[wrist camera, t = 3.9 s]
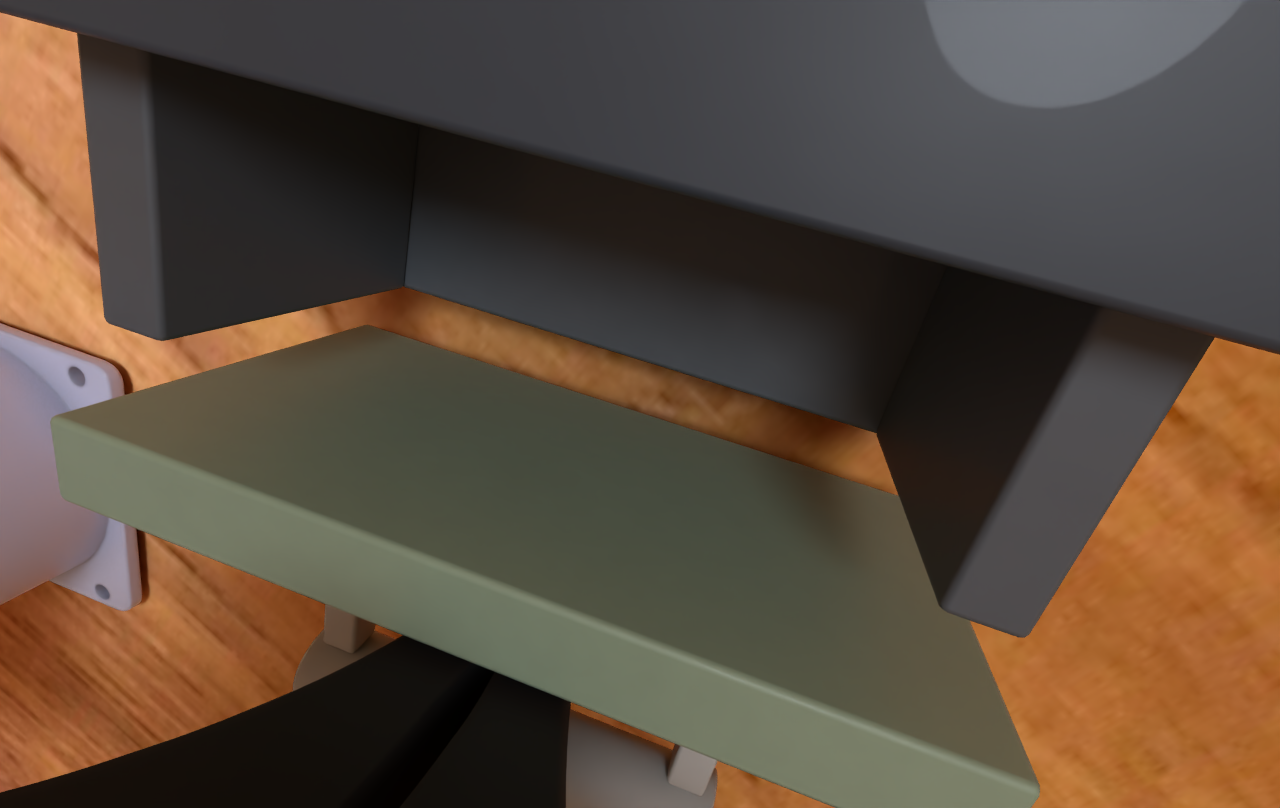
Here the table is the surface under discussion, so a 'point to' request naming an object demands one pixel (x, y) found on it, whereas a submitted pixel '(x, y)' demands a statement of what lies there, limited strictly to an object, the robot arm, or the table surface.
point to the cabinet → (839, 118)
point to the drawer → (604, 440)
